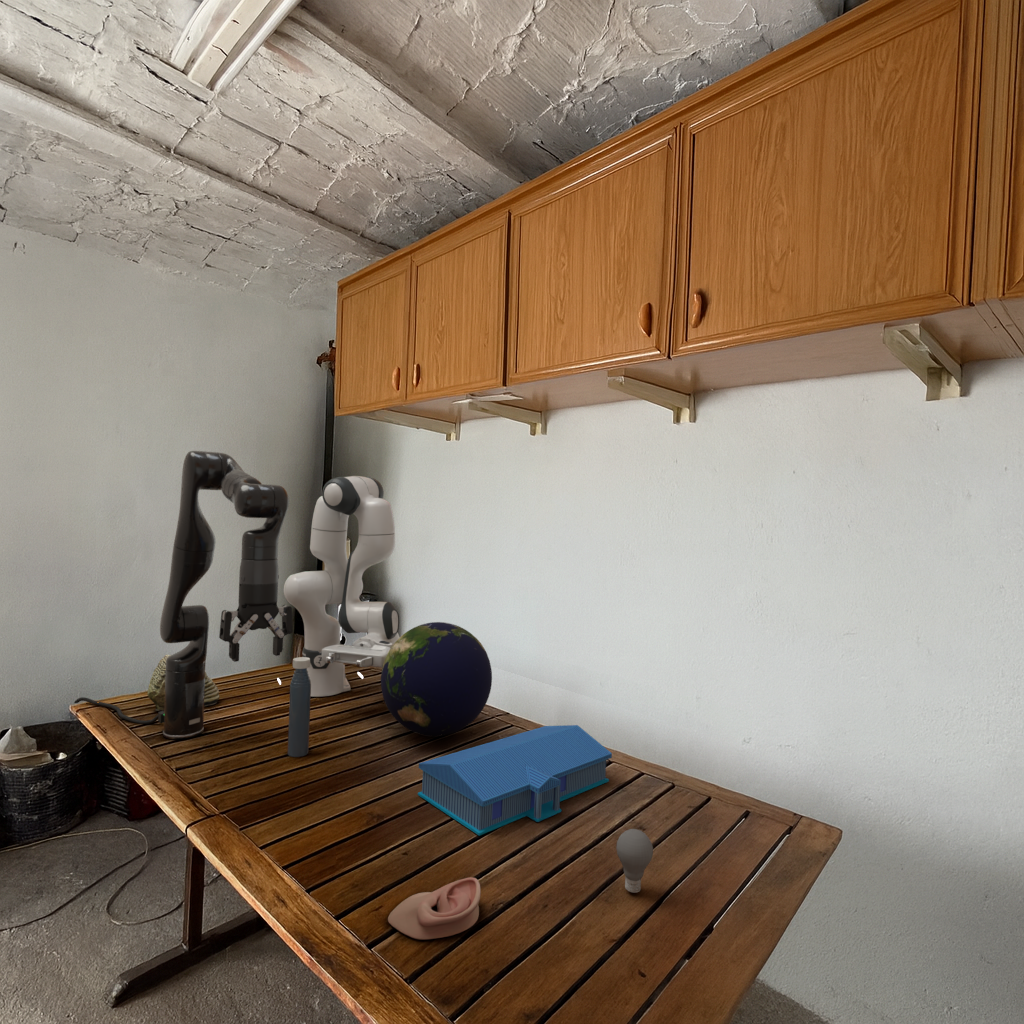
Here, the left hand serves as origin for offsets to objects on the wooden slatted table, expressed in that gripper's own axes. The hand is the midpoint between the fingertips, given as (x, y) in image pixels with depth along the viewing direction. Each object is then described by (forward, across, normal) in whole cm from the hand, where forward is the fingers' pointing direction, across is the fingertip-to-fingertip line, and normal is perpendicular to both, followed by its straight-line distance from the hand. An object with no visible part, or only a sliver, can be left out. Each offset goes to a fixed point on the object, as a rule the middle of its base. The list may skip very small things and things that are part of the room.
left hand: (256, 657), depth 132 cm
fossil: (+29, -6, -67) cm, 73 cm away
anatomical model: (+29, -7, +55) cm, 63 cm away
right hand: (+12, -35, -27) cm, 46 cm away
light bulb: (+29, -36, +71) cm, 85 cm away
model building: (+29, -47, +33) cm, 64 cm away
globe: (+29, -52, -6) cm, 60 cm away
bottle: (+29, -18, -16) cm, 38 cm away
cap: (+6, -18, -16) cm, 24 cm away
